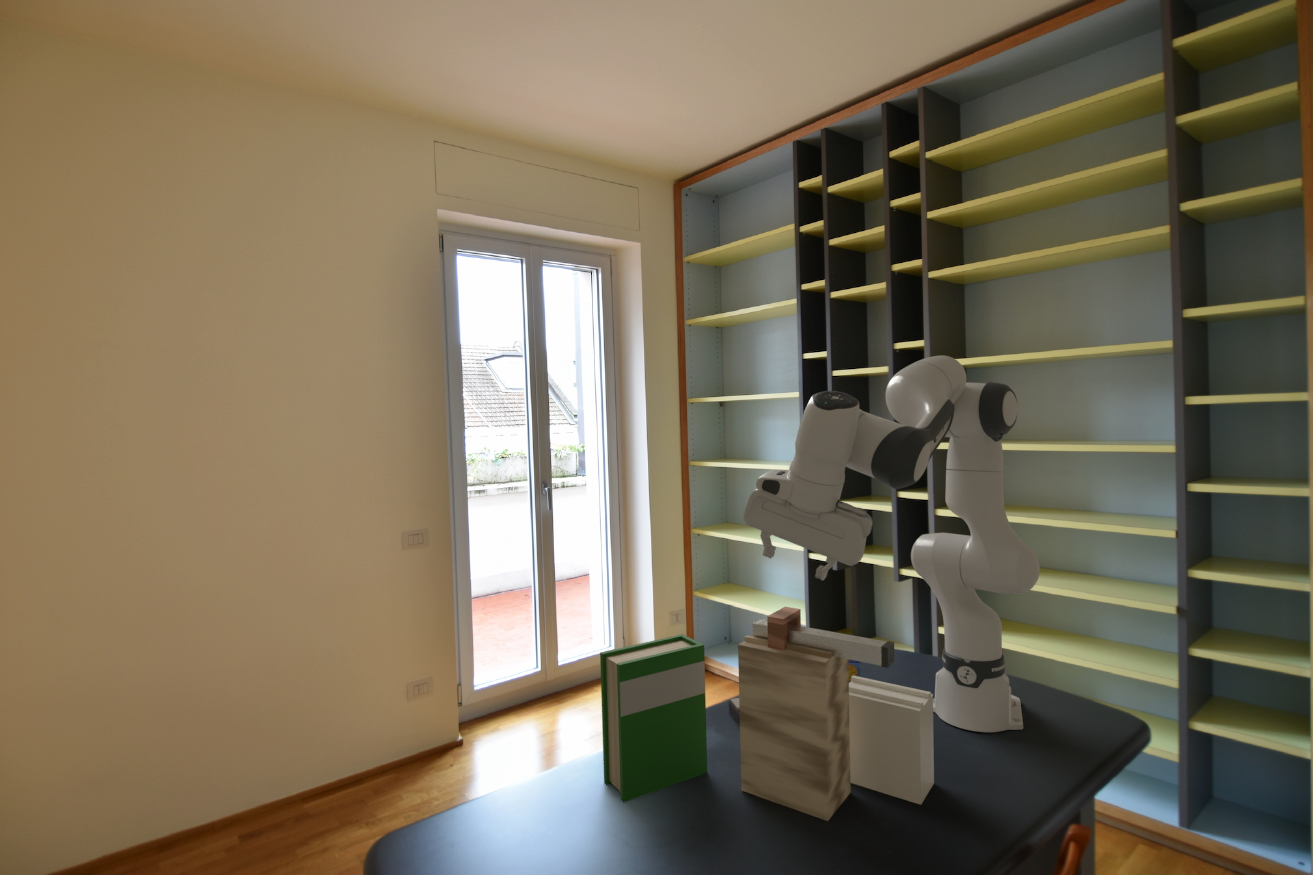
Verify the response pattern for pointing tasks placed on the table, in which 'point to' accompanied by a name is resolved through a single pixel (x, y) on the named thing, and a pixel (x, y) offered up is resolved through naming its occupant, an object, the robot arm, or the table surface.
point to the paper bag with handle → (793, 721)
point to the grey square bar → (835, 643)
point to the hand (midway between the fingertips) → (793, 566)
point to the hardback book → (653, 715)
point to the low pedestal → (891, 738)
